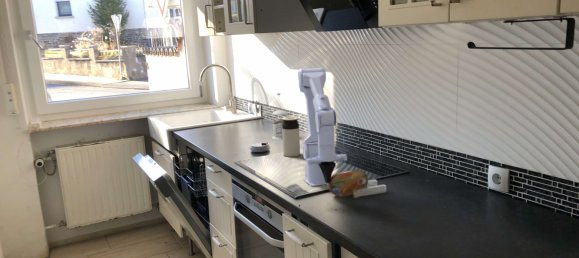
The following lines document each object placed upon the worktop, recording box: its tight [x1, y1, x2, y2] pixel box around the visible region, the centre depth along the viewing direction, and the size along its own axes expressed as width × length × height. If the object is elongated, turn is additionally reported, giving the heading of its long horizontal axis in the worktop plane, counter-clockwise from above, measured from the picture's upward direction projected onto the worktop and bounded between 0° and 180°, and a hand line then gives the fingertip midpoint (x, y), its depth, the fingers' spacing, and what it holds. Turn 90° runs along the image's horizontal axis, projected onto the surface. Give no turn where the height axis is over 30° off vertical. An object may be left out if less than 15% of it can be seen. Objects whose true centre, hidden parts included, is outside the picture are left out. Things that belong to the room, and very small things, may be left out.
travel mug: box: [282, 116, 301, 158], centre depth 229 cm, size 8×8×18 cm
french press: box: [271, 92, 291, 140], centre depth 268 cm, size 10×12×25 cm
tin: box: [327, 169, 369, 198], centre depth 172 cm, size 15×3×8 cm, turn 113°
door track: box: [352, 179, 387, 199], centre depth 175 cm, size 10×13×2 cm
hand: (327, 182), depth 169 cm, fingers closed
